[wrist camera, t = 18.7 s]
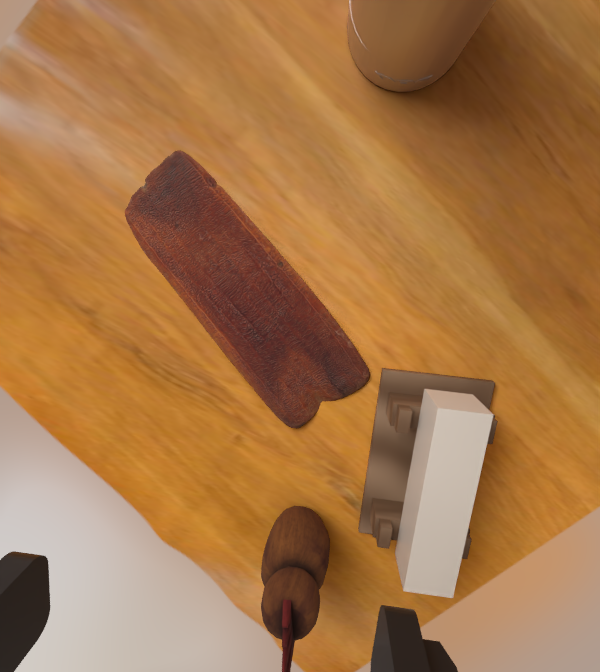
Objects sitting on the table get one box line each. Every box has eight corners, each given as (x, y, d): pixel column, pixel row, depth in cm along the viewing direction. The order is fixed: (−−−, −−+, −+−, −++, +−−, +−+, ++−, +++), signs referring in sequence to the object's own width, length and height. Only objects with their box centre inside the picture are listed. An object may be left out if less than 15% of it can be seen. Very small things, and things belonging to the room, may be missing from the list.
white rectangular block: (424, 388, 33) (437, 408, 29) (473, 394, 33) (493, 414, 29) (394, 552, 37) (403, 591, 32) (438, 559, 36) (452, 598, 32)
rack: (382, 368, 37) (390, 385, 32) (492, 380, 36) (516, 399, 32) (358, 528, 40) (362, 564, 36) (458, 541, 40) (475, 580, 35)
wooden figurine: (314, 560, 42) (307, 728, 27) (262, 541, 42) (226, 699, 27) (337, 506, 40) (342, 653, 25) (283, 487, 40) (257, 623, 25)
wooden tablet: (376, 372, 38) (379, 377, 36) (293, 431, 39) (292, 438, 38) (192, 135, 34) (186, 130, 33) (111, 211, 36) (101, 209, 34)
